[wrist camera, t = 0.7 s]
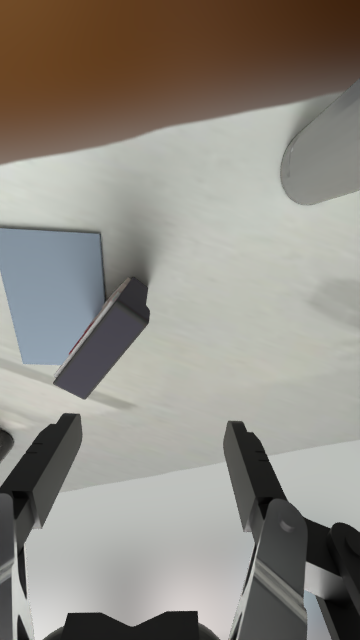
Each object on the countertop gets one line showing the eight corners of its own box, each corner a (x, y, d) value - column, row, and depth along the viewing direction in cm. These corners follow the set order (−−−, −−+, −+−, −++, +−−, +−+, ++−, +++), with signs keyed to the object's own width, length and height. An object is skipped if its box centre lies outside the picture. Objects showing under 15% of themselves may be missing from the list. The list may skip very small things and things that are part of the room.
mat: (100, 234, 29) (98, 233, 29) (110, 364, 37) (109, 366, 36) (-7, 228, 28) (-11, 227, 28) (25, 362, 36) (23, 363, 35)
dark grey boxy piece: (129, 272, 31) (109, 293, 17) (151, 290, 32) (149, 322, 18) (90, 325, 33) (43, 381, 19) (112, 339, 34) (83, 402, 20)
